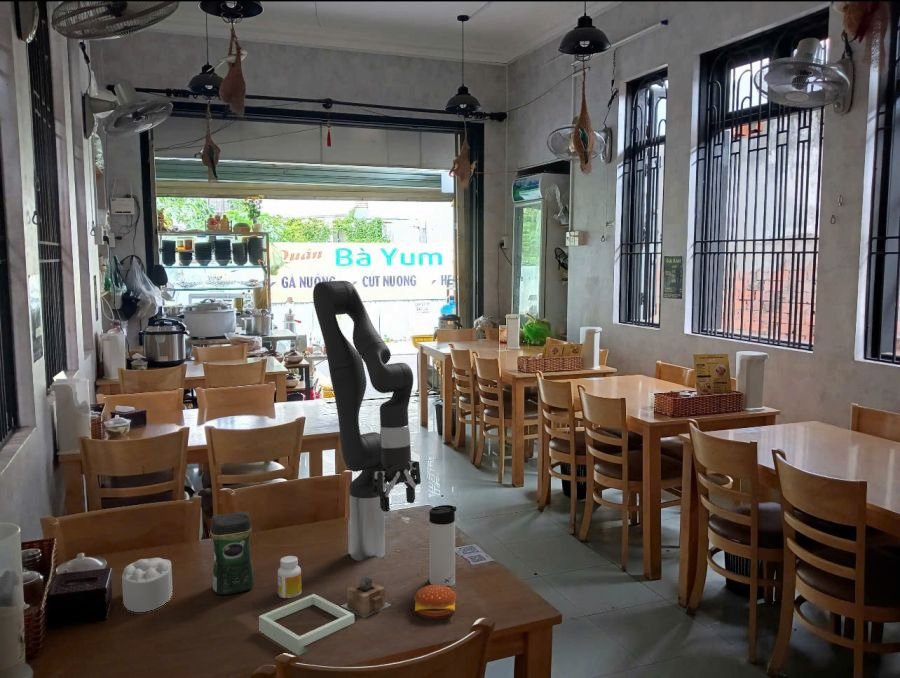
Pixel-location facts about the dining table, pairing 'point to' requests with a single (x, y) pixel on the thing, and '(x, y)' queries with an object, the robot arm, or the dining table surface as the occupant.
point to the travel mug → (442, 545)
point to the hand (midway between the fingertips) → (398, 506)
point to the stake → (365, 586)
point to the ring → (365, 598)
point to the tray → (298, 642)
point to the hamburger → (435, 602)
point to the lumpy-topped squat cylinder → (147, 584)
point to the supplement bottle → (289, 577)
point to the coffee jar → (232, 553)
